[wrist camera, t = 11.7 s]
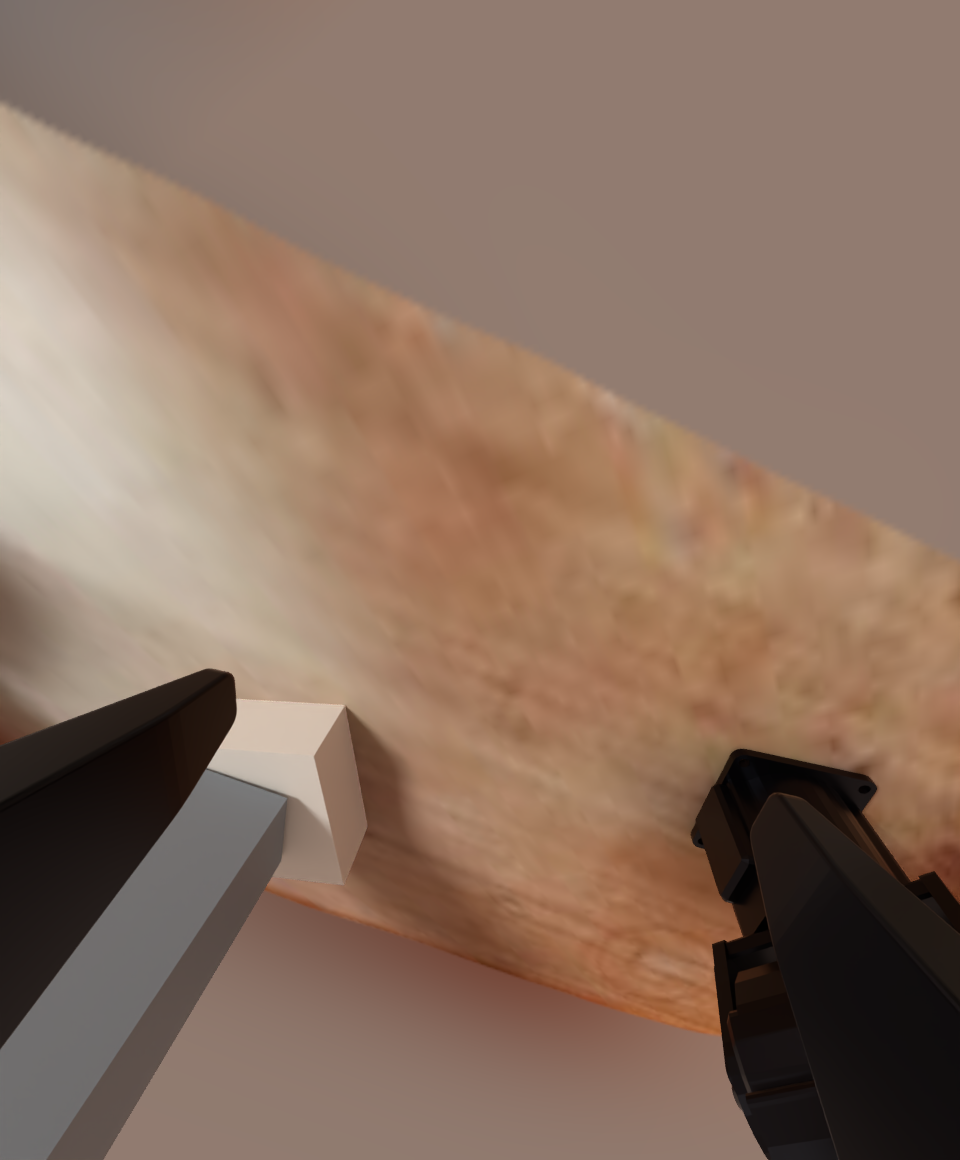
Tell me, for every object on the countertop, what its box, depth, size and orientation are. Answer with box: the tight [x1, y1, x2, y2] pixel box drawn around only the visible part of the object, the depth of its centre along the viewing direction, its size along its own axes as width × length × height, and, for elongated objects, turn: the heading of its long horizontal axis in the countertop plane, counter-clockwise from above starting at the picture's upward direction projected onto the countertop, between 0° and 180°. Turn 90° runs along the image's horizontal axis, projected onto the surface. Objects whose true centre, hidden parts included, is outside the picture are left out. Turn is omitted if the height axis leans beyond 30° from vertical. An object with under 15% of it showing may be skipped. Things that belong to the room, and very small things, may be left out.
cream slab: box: [206, 699, 368, 885], centre depth 26 cm, size 9×9×4 cm
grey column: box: [0, 770, 287, 1160], centre depth 18 cm, size 5×5×13 cm
